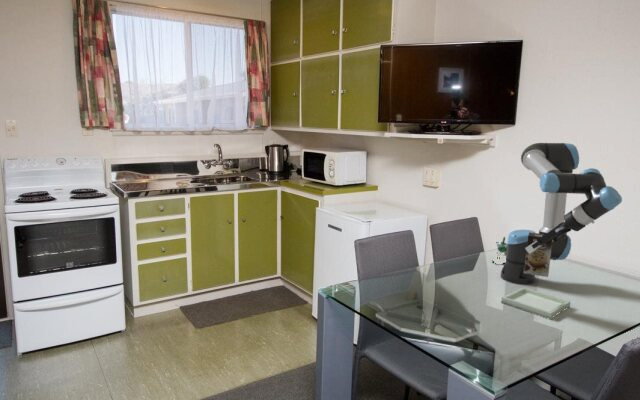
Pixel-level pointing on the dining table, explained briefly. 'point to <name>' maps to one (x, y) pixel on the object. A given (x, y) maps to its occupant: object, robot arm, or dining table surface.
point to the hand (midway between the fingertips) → (533, 248)
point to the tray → (535, 302)
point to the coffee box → (538, 257)
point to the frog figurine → (502, 247)
